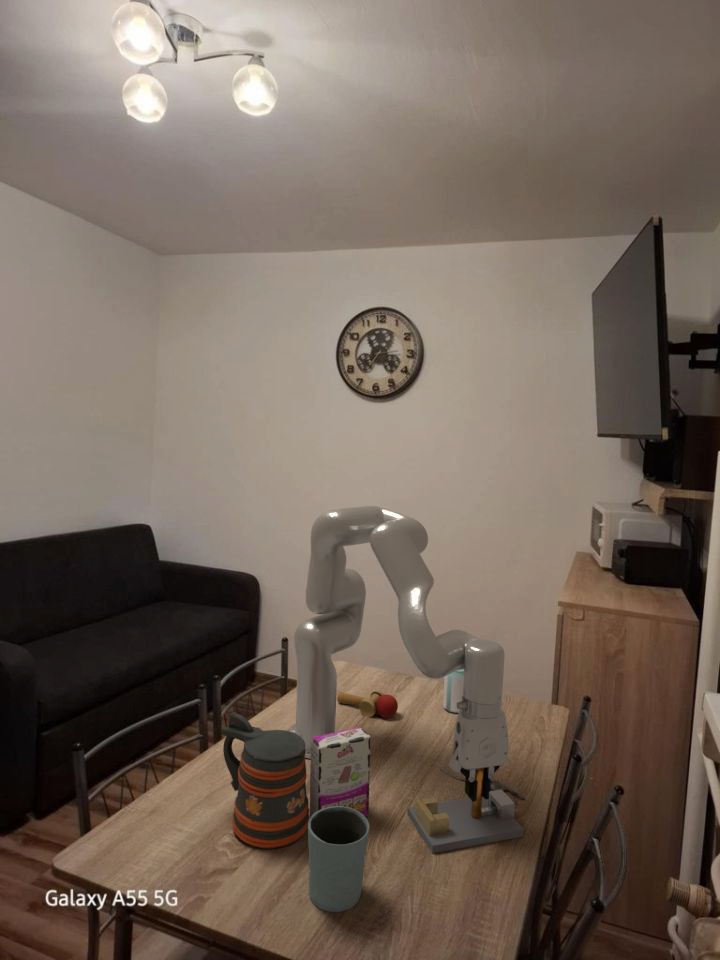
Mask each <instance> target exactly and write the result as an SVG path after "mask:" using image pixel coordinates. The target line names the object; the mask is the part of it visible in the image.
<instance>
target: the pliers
mask: <svg viewBox="0 0 720 960" xmlns="http://www.w3.org/2000/svg"><path fill="white" fill-rule="evenodd" d="M439 770H441V772H443V773H444V774H446V775H448V776H449V777H451V778H453V779H456V780H458V781H461V782H464V783H465V777H462V776H458V775H455V774H454V773H450V772H449V771H447V770H446V769H445V768H444V767H442V766H440V767H439ZM495 790H503V792H504V793H505V794H506V793H510V794H506V795H507V796H508V797H509V798H510V799H511V800H512V801H513V802H514V803H515V805H516V806H517V805H518V801H516V800H515V799H513V798H512V797H510V796H509V795H511V796H514V797H516V798H518V799H520V800H522V801H524V802H525V801H526V797H524V796H523V795H522V794H520V793H519V792H517V791H516V790H514V789H512V788H510V787H509V786H507V785H505V784H503V783H501V782H500V781H497V780H495V779H494V778H493V779H491V785H490V791H495Z"/></svg>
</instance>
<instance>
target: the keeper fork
mask: <svg viewBox="0 0 720 960" xmlns="http://www.w3.org/2000/svg"><path fill="white" fill-rule="evenodd" d="M438 803H439V801H438V800H437V799H436V797H435V796H434V797H429V798H428V797H427V798H422V799H416V800H415V806H416V810H415V815H416V817H417V818H418V820H419V821H420V823H421V824H422V826H423V827H424V829H425V831H426V832H427V834H428V835H429V836H433V835H439V834H444V833H449V818H450V817H449V816H448V815H447V813H440V814H437V813H438Z"/></svg>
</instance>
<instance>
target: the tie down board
mask: <svg viewBox="0 0 720 960" xmlns="http://www.w3.org/2000/svg"><path fill="white" fill-rule="evenodd" d="M471 806H472V800H471V799H470V798H469V797H466V798H459V799H453V800H452V799H451V800H445V801H440V802H439V801H438V813H437V814H440V813H447V815H448V816H449V817H450V818H449V833H444V834H439V835H433V836H429V835H428V834H427V832H426V831H425V829H424V827H423V826H422V824H421V823H420V821H419V820H418V818H417V817H416V815H415V810H416V805H415V806H408V807H407V817H408V819H409V820H410V821H411V823H412V824H413V825H414V827H415V829H416V830H417V832H418V834H419V835H420V837H421V839H423V841H424V843H425V844H426V846H427V848H428V849H429V851H430V852H431V854H436V853H441V852H447V851H454V850H458V849H462V848H463V849H465V848H469V847H475V846H479V845H485V844H489V843H496V842H502V841H507V840H513V839H517V838H518V839H519V838H523V837H524V829H525V828H523V826H521V824H520V823H519V822H518V821H517V820H516V818H515V817H514V818H512V819H507V820H501V821H500V819H499V818H498V817H497V814H491V815H485V816H481V817H480V818H475V817H473V816H472V815H471ZM482 808H483V809H484V808H488V799H484V797H483V796H482Z"/></svg>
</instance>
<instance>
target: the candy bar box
mask: <svg viewBox="0 0 720 960" xmlns="http://www.w3.org/2000/svg"><path fill="white" fill-rule="evenodd" d="M370 765H371V735H369V734H368V733H367V731H365V730H364V729H363V727H360V726H359V727H354V728H350V729H349V728H348V729H344V730H340V731H335V733H330V734H326V735H321V736H316V737H312V738H311V759H310V766H309V767H310V770H309V771H310V773H309V774H310V777H309V819H310V818H311V816H312V815H313V814H314V813H315V812H317V811H319V810H321V809H323V808H326V807H332V806H343V807H348V808H352V809H354V810H356V811H358V812H360V813H361V814H363V815H364V817H367V816H369V814H370V813H369V810H370V773H371V772H370V771H371V766H370Z"/></svg>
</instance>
